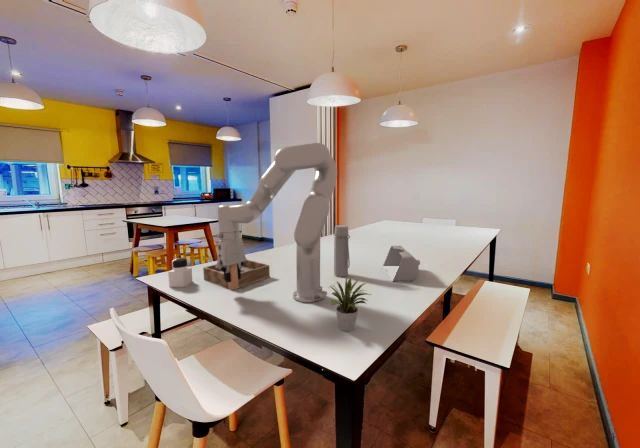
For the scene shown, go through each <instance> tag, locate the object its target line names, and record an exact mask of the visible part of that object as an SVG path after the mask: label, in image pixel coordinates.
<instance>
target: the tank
mask: <svg viewBox="0 0 640 448" xmlns="http://www.w3.org/2000/svg"><path fill="white" fill-rule="evenodd" d="M420 265H421V261H420V260H419V259H416V258H415V257H414V256H413V255H412V254H411V253H410V252H408V251H407V250H406V249H405V248H404V247H403V246H402V245H391V246H390V248H389V250H388V252H387V256H386V258H385V260H384V262H383V265H382V267H383V266H399V268H398V270H397V272H396V275H395V277H394V279H393V281H392V282H397V281H412V282H413V281H414V280H415V279H416V277H418V275H419V266H420Z"/></svg>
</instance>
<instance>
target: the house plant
mask: <svg viewBox="0 0 640 448" xmlns="http://www.w3.org/2000/svg"><path fill="white" fill-rule="evenodd" d="M358 281H359V279H358V280H356V281H355V282H354V283H352V277H350V278H349V279H348V277H346V278H345V283H344V288H343V287H342V285H341V283H340V282H338V281H336V283H335V282H334V284H336V285H337V286H338V288H339V289H337V288H336V287H335V285H333V284H332V285H329V288H330V289H332V290H333V291H334V292H332V293H331V294H332V295H333V296H335V298H337V299H338V300H339V301H337V300H334V299H332V300H331V302H330V304H331V306H334V305H337V306H336V308H335V312H336V313H335V314H336V320H337V324H338V325H337V326H338V329H339V330H340V331H342V332H352V331H354V330H355V329H354V328H356V324H357V323H356V322H357V318H358V313H359V309H358V307H357V306H356V305H357V304H366V305H367V303H366V302H368V299H366V298H364V297H360V296H364V295H369V296H370V295H372V293H367V292H365V291H363V289H361V288H362V287H363V286H364V285H366V284H367V282H366V283H365V282H364V283H362V284H360V285H359V286H358V287H356V288H355V290H354V291H353V289H354V287H355V286H356V284H357V283H358ZM339 290H340V291H339Z"/></svg>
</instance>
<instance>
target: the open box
mask: <svg viewBox="0 0 640 448" xmlns="http://www.w3.org/2000/svg"><path fill="white" fill-rule="evenodd" d="M215 266H216V264H212V265H208V266H203V269H202V270H203V271H202V272H203V280H204V281H206V282H210V283H212V284H214V285H217V286H220V287H223V288H225V289H228V290H230V291H233V290H234V289H229V288H228V282H226V281H225V279H224V273H222V272H219V271H222V270H220V269H218V268H216V267H215ZM221 266H222V267H223V264H222V265H221ZM242 266H243V267H247V268H250V269H252V270H249V271H246V272H242V273H241V279H238V285H239V287H238V288H242V287H245V286H247V285H250V284H251V285H252V284H253V283H257V282H260V281H262V280H265V279H268V278H270V265H269V264H266V263H261V262H258V261H255V260H251V259H247V260H246V261H245V262H244V264H243V265H242ZM238 288H237V289H238Z"/></svg>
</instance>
